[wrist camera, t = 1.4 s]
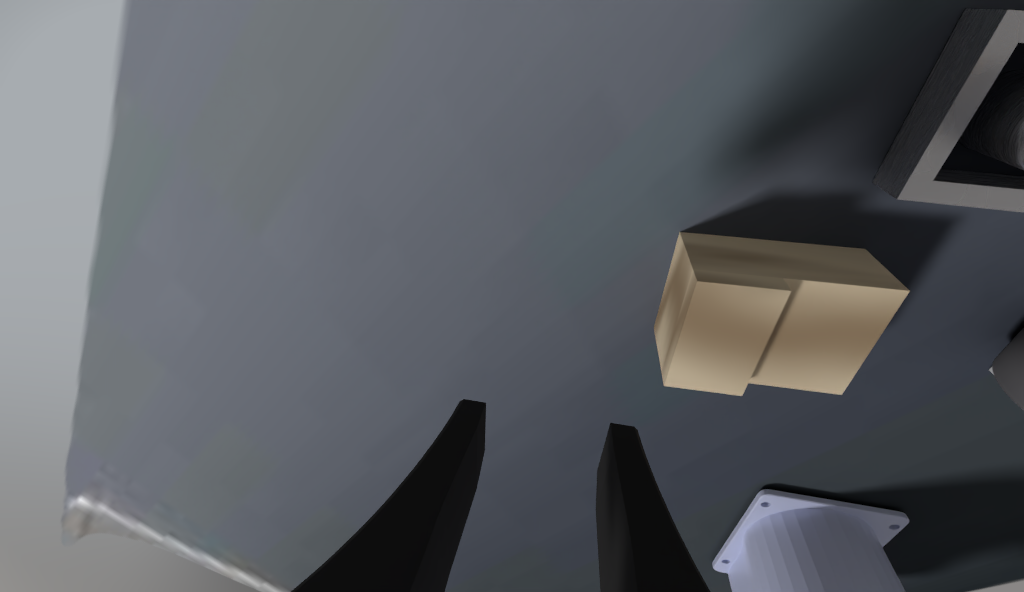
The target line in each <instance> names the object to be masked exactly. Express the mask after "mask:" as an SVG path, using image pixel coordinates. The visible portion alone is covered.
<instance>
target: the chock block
mask: <svg viewBox="0 0 1024 592" xmlns="http://www.w3.org/2000/svg"><path fill="white" fill-rule="evenodd" d="M909 292H910V290H908V289H907V288H906V287H905V286H904V285H903V284H902V283H901V282H900V281H899V280H898V279H897V278H896V277H895V276H894V275H892V274H891V273H890V272H889V271H888V270H887V269H886V268H885V267H884V266H883V265H882V264H881V263H880V262H879V261H878V260H876V259H875V258H874V257H873V256H872V255H871V254H870V253H869V252H868V251H867V250H866V249H861V248H850V247H839V246H828V245H817V244H806V243H795V242H784V241H773V240H763V239H752V238H741V237H730V236H719V235H708V234H697V233H686V232H679V236H678V240H677V244H676V247H675V251H674V255H673V259H672V262H671V266H670V270H669V273H668V277H667V281H666V285H665V288H664V292H663V296H662V300H661V303H660V307H659V311H658V314H657V318H656V322H655V326H654V331H655V337H656V343H657V349H658V354H659V360H660V366H661V372H662V377H663V383H664V386H669V387H676V388H684V389H692V390H699V391H707V392H715V393H722V394H730V395H738V396H742V395H743V393H744V391H745V389H746V387H747V385H748V383H752V384H760V385H768V386H776V387H784V388H792V389H800V390H807V391H815V392H823V393H831V394H839V395H842V394H843V392H844V391H845V389H846V388H847V386H848V385H849V383H850V382H851V380H852V378H853V377H854V375H855V374H856V372H857V371H858V369H859V368H860V366H861V365H862V363H863V362H864V360H865V359H866V357H867V356H868V354H869V353H870V351H871V350H872V348H873V346H874V345H875V343H876V342H877V340H878V339H879V337H880V336H881V334H882V333H883V331H884V330H885V328H886V327H887V325H888V324H889V322H890V321H891V319H892V318H893V316H894V314H895V313H896V311H897V310H898V308H899V307H900V305H901V304H902V302H903V301H904V299H905V298H906V296H907V295H908V293H909Z"/></svg>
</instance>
